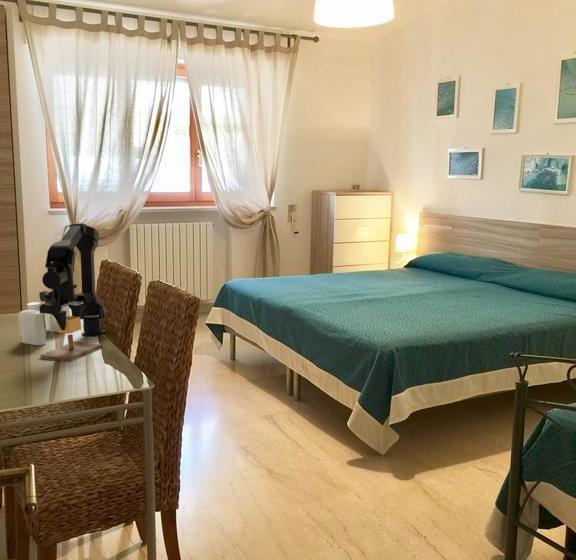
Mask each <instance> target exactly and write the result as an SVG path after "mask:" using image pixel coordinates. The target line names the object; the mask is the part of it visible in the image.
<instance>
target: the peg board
mask: <svg viewBox="0 0 576 560" xmlns="http://www.w3.org/2000/svg"><path fill="white" fill-rule="evenodd" d="M67 342H68V343H67V344H64V345H62V346H59V347H56V348H54V349H52V350H49V351H47V352H44V353H41V354H40V355H39V356H40V357H39V358H40V359H44V360H45V359H46V360H50V359H51V360H50V361H57V360H60V361H59V362H65V361H68V362H67V363H69V362H72V361H74V360H76V359H78V358H81V357H84V356H86V355H88V354H90V353H93V352H95V351H96V350H99V349H102V348H103V346H102V345H103V344H101V343H93V342H86V341H78V340H77V341H76V340H75V341H74V335H73V334H68V335H67ZM92 351H93V352H92ZM73 359H74V360H73ZM71 360H72V361H71Z"/></svg>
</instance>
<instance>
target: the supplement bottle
mask: <svg viewBox="0 0 576 560" xmlns="http://www.w3.org/2000/svg"><path fill="white" fill-rule="evenodd" d="M41 304H42V302H41V301H40V302H37V301H35V302H34V301H33V302H29V303H27V304H26V305H27V306H26V307H27V310H34V311H37V312H39V313H40V310H39V307H40V305H41ZM41 314H42V316H43V320H44V328H45V335H46V336H47V334H48V332H47V331H48V330H47V321H46V314H45V313H41Z"/></svg>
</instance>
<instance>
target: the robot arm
mask: <svg viewBox="0 0 576 560" xmlns="http://www.w3.org/2000/svg"><path fill="white" fill-rule="evenodd" d="M99 240H100V233H99V231H98V230H97V229H96V228H94V227H92V226H90V225H87V224H86V223H83V222H76V223H75V222H73V223H71V224H70V225H69V228H68V229H67V231H66V232H65V234H64V235H63V236H62V239H60V240H59V241H57V242H56V241H55V242H54V243H52V244H51V245H50V246H49V248H48V250H47V254H46V259H45V260H46V261H45V269H46V270H47V271H46V272H44V273H43V276H42V278H41V280H42V284H43V286H44V287H46V288H47V289H49V290H51V291H49V292H48V291H47V290H44V291H41V292H39V299H40V302H41V305H40V307H39V310H40V313H45V315H46V314H52V315H53V316H54V317H55V319H56V321H57V322H58V324H59V326H60V328H61V330H65V324H66V312H67V311H63V307H65V306H69V310H70V313H71V316H77V317H80V321H81V320H82V321H83V324H82V325H83V333H81V335H82V336H88V337H89V336H90V337H97V336H99V335H102V334H104V333H106V332H107V330H103V322H102V321H103V319H105V318H106V309H105V307H104V305H103V303H101V298H100V295H98V293H97V291H96V277H95V275H96V274H95V273H96V271H95V256H94V255H95V251H96V250H97V248H98V245H99ZM75 248H76V249H77V250H78V251H79V254H80V274H81V275H80V276H81V292H79V293H78V292H77V293H75V289H77V287H78V286H77V285H78V284H74V274H73V267H74V260H75V257H76V251H75ZM42 302H45V303H42ZM53 302H58V303H53ZM64 303H65V304H64Z"/></svg>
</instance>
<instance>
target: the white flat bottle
mask: <svg viewBox="0 0 576 560" xmlns="http://www.w3.org/2000/svg"><path fill="white" fill-rule="evenodd" d="M17 319H18V320H17V321H18V327H19V328H18V329H19V333H20V342H21V343H23V344H27V345H32V346H33V345H34V346H44V345H45V344H46V343H47V338H46V337H47V335H45V328H44V320H43V316H42V314H41V313H39V312H37V311H34V310H28V309H25V310H21V311H20V312H19V313H18V316H17Z"/></svg>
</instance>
